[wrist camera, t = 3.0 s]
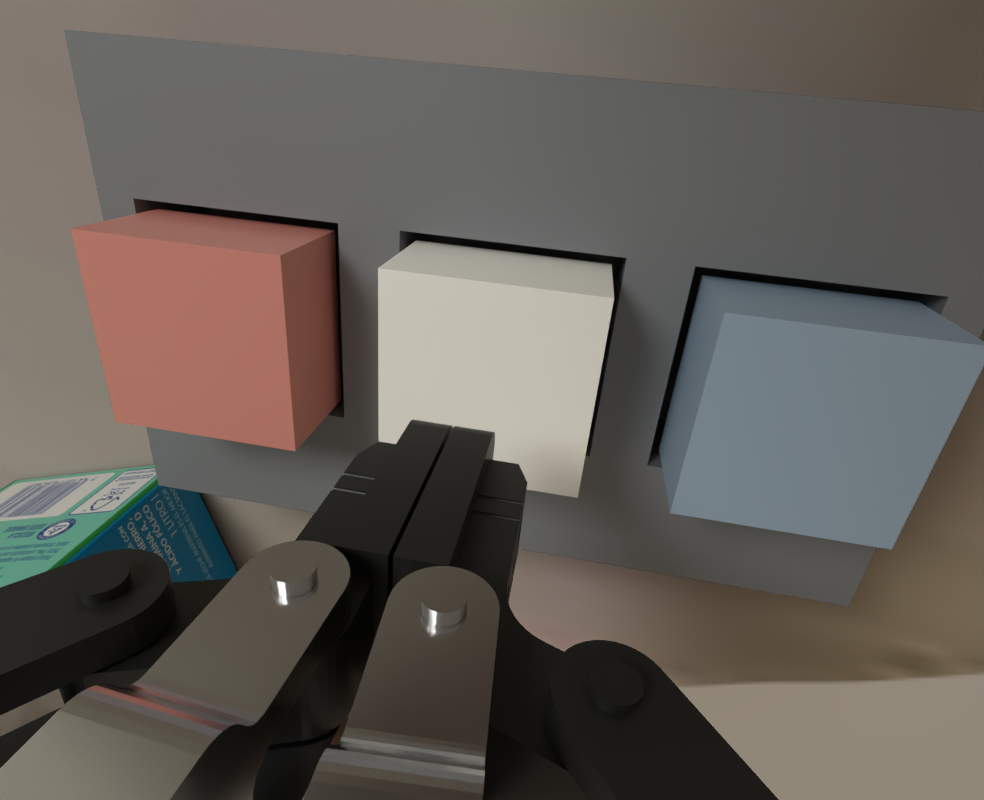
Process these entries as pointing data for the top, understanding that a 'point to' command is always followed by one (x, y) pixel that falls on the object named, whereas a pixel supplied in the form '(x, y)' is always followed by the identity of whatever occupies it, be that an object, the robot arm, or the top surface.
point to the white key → (495, 351)
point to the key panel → (544, 241)
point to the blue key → (812, 409)
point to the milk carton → (102, 535)
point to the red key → (215, 323)
